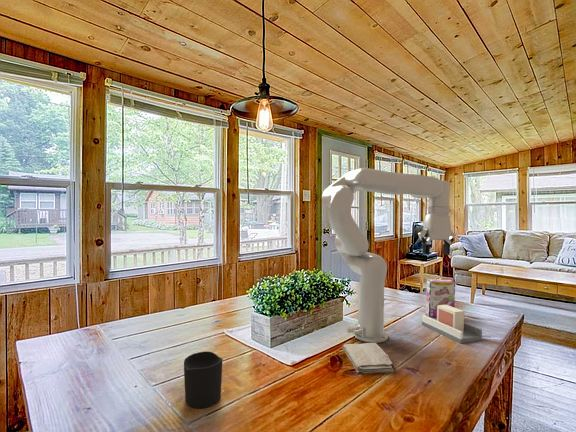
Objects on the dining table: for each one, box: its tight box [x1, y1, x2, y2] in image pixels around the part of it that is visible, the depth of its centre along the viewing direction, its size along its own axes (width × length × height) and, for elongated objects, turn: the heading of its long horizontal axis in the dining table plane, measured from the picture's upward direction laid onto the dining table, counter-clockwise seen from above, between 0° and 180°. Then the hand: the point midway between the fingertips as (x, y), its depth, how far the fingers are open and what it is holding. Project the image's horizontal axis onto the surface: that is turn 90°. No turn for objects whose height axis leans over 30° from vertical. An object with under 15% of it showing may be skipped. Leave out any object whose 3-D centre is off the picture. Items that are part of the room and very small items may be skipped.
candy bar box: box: [425, 278, 456, 318], centre depth 149 cm, size 11×5×16 cm, turn 84°
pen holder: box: [183, 350, 223, 409], centre depth 82 cm, size 9×9×10 cm
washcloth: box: [342, 342, 394, 374], centre depth 105 cm, size 12×18×3 cm, turn 6°
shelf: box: [421, 314, 483, 344], centre depth 129 cm, size 20×10×4 cm, turn 18°
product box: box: [436, 305, 465, 332], centre depth 129 cm, size 9×5×8 cm, turn 18°
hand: (436, 254), depth 130 cm, fingers open, 9 cm apart
